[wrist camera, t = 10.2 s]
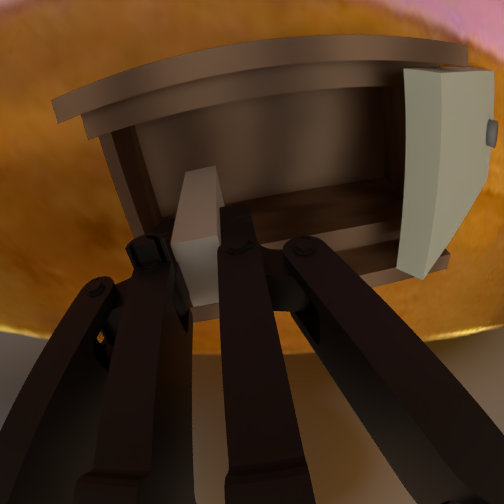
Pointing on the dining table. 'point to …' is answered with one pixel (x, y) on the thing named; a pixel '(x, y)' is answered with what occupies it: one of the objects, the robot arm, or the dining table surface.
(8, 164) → the dining table surface
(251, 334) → the robot arm
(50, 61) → the dining table surface
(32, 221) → the dining table surface
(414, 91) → the lid
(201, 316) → the box
